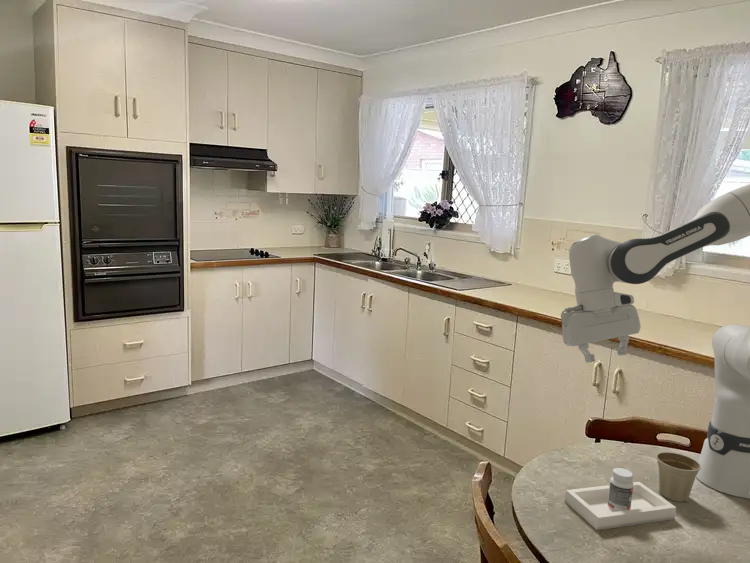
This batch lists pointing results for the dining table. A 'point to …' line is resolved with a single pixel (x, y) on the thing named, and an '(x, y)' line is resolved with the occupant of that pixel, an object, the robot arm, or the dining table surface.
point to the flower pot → (676, 475)
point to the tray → (602, 517)
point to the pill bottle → (620, 490)
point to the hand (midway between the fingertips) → (606, 358)
